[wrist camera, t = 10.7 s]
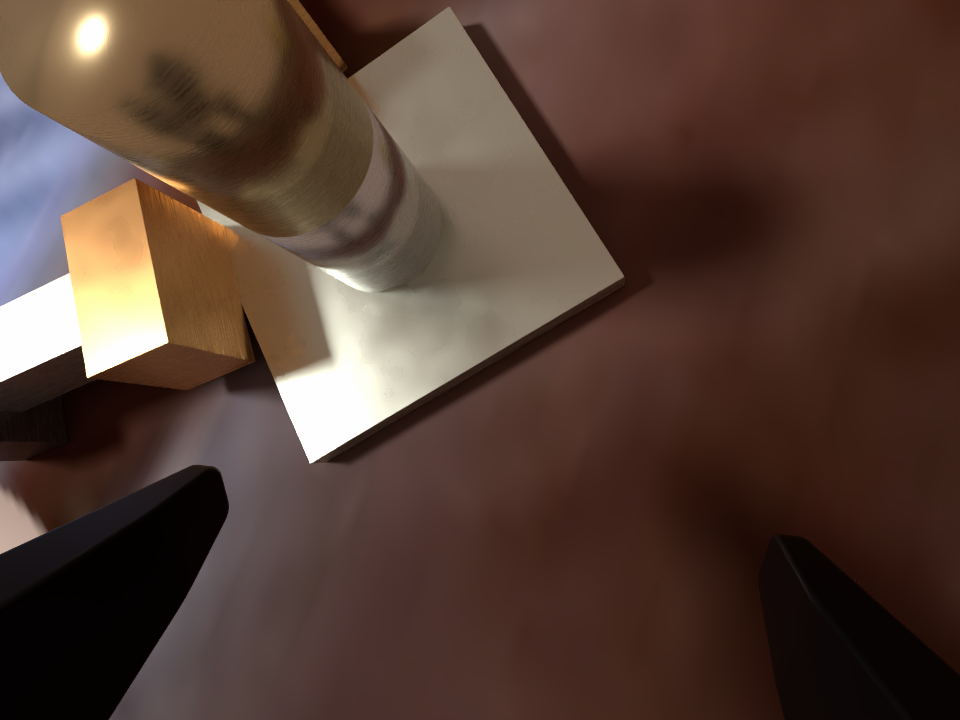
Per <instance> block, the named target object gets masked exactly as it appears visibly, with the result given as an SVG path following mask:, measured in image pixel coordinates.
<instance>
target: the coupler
mask: <svg viewBox="0 0 960 720" xmlns="http://www.w3.org/2000/svg"><path fill="white" fill-rule="evenodd" d="M0 72H1V74H2V76H3V79H4V80H5V82H6V83H7V85H8V86H9V88H10V89H11V91H12V92H13V93H14V94H15V95H16V96H17V97H18V98H19V99H20V100H21V101H23V102H24V103H25V104H27V105H28V106H30V107H31V108H33V109H35V110H37V111H38V112H40V113H42V114H44V115H46V116H47V117H49V118H51V119H53V120H54V121H56V122H58V123H60V124H62V125H63V126H65V127H67V128H69V129H71V130H72V131H74V132H76V133H78V134H80V135H81V136H83V137H85V138H87V139H88V140H90V141H92V142H94V143H96V144H97V145H99V146H101V147H103V148H105V149H106V150H108V151H110V152H112V153H113V154H115V155H117V156H119V157H121V158H122V159H124V160H126V161H128V162H130V163H131V164H133V165H135V166H137V167H138V168H140V169H142V170H144V171H146V172H147V173H149V174H151V175H153V176H155V177H156V178H158V179H160V180H162V181H164V182H165V183H167V184H169V185H171V186H172V187H174V188H176V189H178V190H180V191H181V192H183V193H185V194H187V195H189V196H190V197H192V198H194V199H196V200H197V201H199V202H201V203H203V204H205V205H206V206H208V207H210V208H212V209H214V210H215V211H217V212H219V213H221V214H223V215H224V216H226V217H228V218H230V219H231V220H233V221H235V222H237V223H239V224H240V225H242V226H244V227H246V228H248V229H249V230H251V231H253V232H255V233H256V234H258V235H260V236H262V237H264V238H265V239H267V240H269V241H271V242H273V243H274V244H276V245H278V246H280V247H282V248H283V249H285V250H287V251H289V252H290V253H292V254H294V255H296V256H298V257H299V258H301V259H303V260H305V261H307V262H308V263H310V264H312V265H314V266H315V267H317V268H319V269H321V270H323V271H324V272H326V273H328V274H330V275H332V276H333V277H335V278H337V279H339V280H341V281H342V282H344V283H346V284H348V285H350V286H352V287H354V288H356V289H359V290H362V291H367V292H385V291H390V290H393V289H396V288H399V287H401V286H403V285H405V284H407V283H409V282H410V281H412V280H413V279H414V278H416V277H417V276H418V275H419V274H420V273H421V272H422V271H423V270H424V269H425V268H426V267H427V266H428V264H429V263H430V261H431V260H432V258H433V256H434V254H435V252H436V250H437V248H438V245H439V242H440V239H441V234H442V213H441V208H440V204H439V201H438V199H437V197H436V195H435V193H434V192H433V190H432V189H431V187H430V186H429V185H428V183H427V182H426V181H425V180H424V178H423V177H422V176H421V174H420V173H419V172H418V170H417V169H416V168H415V166H414V165H413V164H412V163H411V161H410V160H409V159H408V157H407V156H406V155H405V153H404V152H403V151H402V149H401V148H400V147H399V146H398V144H397V143H396V142H395V140H394V139H393V138H392V136H391V135H390V134H389V133H388V131H387V130H386V129H385V127H384V126H383V125H382V123H381V122H380V121H379V119H378V118H377V117H376V116H375V114H374V113H373V112H372V110H371V109H370V108H369V106H368V105H367V104H366V102H365V101H364V100H363V99H362V97H361V96H360V95H359V93H358V92H357V91H356V89H355V88H354V87H353V85H352V84H351V83H350V82H349V80H348V79H347V78H346V76H345V75H344V74H343V72H342V71H341V70H340V68H339V67H338V66H337V65H336V63H335V62H334V61H333V59H332V58H331V57H330V55H329V54H328V53H327V51H326V50H325V49H324V48H323V46H322V45H321V44H320V42H319V41H318V40H317V38H316V37H315V36H314V34H313V33H312V32H311V31H310V29H309V28H308V27H307V25H306V24H305V23H304V21H303V20H302V19H301V17H300V16H299V15H298V14H297V12H296V11H295V10H294V8H293V7H292V6H291V4H290V3H289V2H288V0H0Z"/></svg>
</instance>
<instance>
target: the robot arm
mask: <svg viewBox="0 0 960 720" xmlns="http://www.w3.org/2000/svg"><path fill="white" fill-rule="evenodd" d="M228 510H229V503H228V498H227V494H226V491H225V487H224V483H223V479H222V475H221V472H220V471H219V470H218V468H216V467H212V466H204V465H192V466H189V467H187V468H185V469H183V470H181V471H179V472H177V473H174V474H172V475H170V476H168V477H166V478H164V479H161V480H159V481H157V482H155V483H153V484H151V485H149V486H146V487H144V488H142V489H140V490H138V491H136V492H133V493H131V494H129V495H127V496H125V497H123V498H121V499H118V500H116V501H114V502H112V503H110V504H108V505H105V506H103V507H101V508H99V509H97V510H95V511H93V512H90V513H88V514H86V515H84V516H82V517H80V518H77V519H75V520H73V521H71V522H69V523H67V524H65V525H62V526H60V527H58V528H56V529H54V530H52V531H49V532H47V533H45V534H43V535H41V536H39V537H36V538H34V539H32V540H30V541H28V542H26V543H24V544H21V545H19V546H17V547H15V548H13V549H11V550H9V551H6V552H4V553H2V554H0V720H109V718H110V717H111V715H112V714H113V712H114V711H115V709H116V707H117V706H118V704H119V703H120V701H121V700H122V698H123V696H124V695H125V693H126V692H127V690H128V688H129V687H130V685H131V684H132V682H133V681H134V679H135V677H136V676H137V674H138V673H139V671H140V670H141V668H142V666H143V665H144V663H145V662H146V660H147V658H148V657H149V655H150V654H151V652H152V651H153V649H154V647H155V646H156V644H157V643H158V641H159V640H160V638H161V636H162V635H163V633H164V632H165V630H166V628H167V627H168V625H169V624H170V622H171V621H172V619H173V617H174V616H175V614H176V613H177V611H178V609H179V608H180V606H181V604H182V603H183V601H184V599H185V598H186V596H187V594H188V592H189V590H190V589H191V587H192V585H193V583H194V581H195V579H196V577H197V575H198V573H199V571H200V569H201V567H202V565H203V563H204V561H205V559H206V557H207V555H208V553H209V551H210V549H211V547H212V545H213V543H214V542H215V540H216V538H217V536H218V534H219V532H220V530H221V528H222V526H223V524H224V522H225V520H226V517H227V514H228ZM759 591H760V597H761V603H762V608H763V614H764V620H765V626H766V631H767V637H768V643H769V648H770V654H771V660H772V666H773V671H774V677H775V682H776V687H777V692H778V695H779V699H780V703H781V707H782V711H783V714H784V717H785V720H960V675H959V674H958V673H957V672H956V671H955V670H954V669H952V668H951V667H950V666H949V665H948V664H947V663H946V662H945V661H943V660H942V659H941V658H940V657H939V656H938V655H937V654H936V653H934V652H933V651H932V650H931V649H930V648H929V647H928V646H927V645H925V644H924V643H923V642H922V641H921V640H920V639H919V638H917V637H916V636H915V635H914V634H913V633H912V632H911V631H910V630H908V629H907V628H906V627H905V626H904V625H903V624H902V623H901V622H899V621H898V620H897V619H896V618H895V617H894V616H893V615H892V614H890V613H889V612H888V611H887V610H886V609H885V608H884V607H882V606H881V605H880V604H879V603H878V602H877V601H876V600H875V599H873V598H872V597H871V596H870V595H869V594H868V593H867V592H866V591H864V590H863V589H862V588H861V587H860V586H859V585H858V584H857V583H855V582H854V581H853V580H852V579H851V578H850V577H849V576H848V575H846V574H845V573H844V572H843V571H842V570H841V569H840V568H838V567H837V566H836V565H835V564H834V563H833V562H832V561H831V560H829V559H828V558H827V557H826V556H825V555H824V554H823V553H822V552H820V551H819V550H818V549H817V548H816V547H815V546H814V545H813V544H811V543H810V542H809V541H808V540H806V539H805V538H803V537H799V536H791V535H783V534H776V535H774V536H773V537H772V538H771V540H770V542H769V545H768V548H767V551H766V554H765V557H764V561H763V564H762V567H761V570H760V573H759Z"/></svg>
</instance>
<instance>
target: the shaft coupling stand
mask: <svg viewBox="0 0 960 720" xmlns="http://www.w3.org/2000/svg"><path fill="white" fill-rule="evenodd" d="M288 2H289V3H290V4H291V6H292V7H293V8H294V10H295V11H296V12H297V14H298V15H299V16H300V17H301V19H302V20H303V21H304V23H305V24H306V25H307V27H308V28H309V29H310V31H311V32H312V33H313V34H314V36H315V37H316V38H317V40H318V41H319V42H320V44H321V45H322V46H323V48H324V49H325V50H326V51H327V53H328V54H329V55H330V57H331V58H332V59H333V61H334V62H335V63H336V65H337V66H338V67H339V68H340V70H341V71H342V72H344V71H345V70H346V69H347V68H348V67H347V65H346V64H345V63H344V61H343V60H342V59H341V57H340V56H339V54H338V53H337V52H336V50H335V49H334V48H333V46H332V45H331V44H330V42H329V41H328V40H327V38H326V37H325V36H324V34H323V33H322V32H321V30H320V29H319V27H318V26H317V25H316V23H315V22H314V21H313V19H312V18H311V17H310V15H309V14H308V13H307V11H306V10H305V9H304V7H303V6H302V5H301V3H300V2H299V0H288ZM348 80H349V82H350V83H351V84H352V85H353V87H354V88H355V89H356V91H357V92H358V93H359V95H360V96H361V97H362V99H363V100H364V101H365V102H366V104H367V105H368V106H369V108H370V109H371V110H372V112H373V113H374V114H375V116H376V117H377V118H378V119H379V121H380V122H381V123H382V125H383V126H384V127H385V129H386V130H387V131H388V133H389V134H390V135H391V136H392V138H393V139H394V140H395V142H396V143H397V144H398V146H399V147H400V148H401V149H402V151H403V152H404V153H405V155H406V156H407V157H408V159H409V160H410V161H411V163H412V164H413V165H414V166H415V168H416V169H417V170H418V172H419V173H420V174H421V176H422V177H423V178H424V180H425V181H426V182H427V183H428V185H429V186H430V187H431V189H432V190H433V192H434V193H435V195H436V197H437V199H438V201H439V204H440V208H441V213H442V234H441V239H440V242H439V245H438V248H437V250H436V252H435V254H434V256H433V258H432V260H431V261H430V263H429V264H428V266H427V267H426V268H425V269H424V270H423V271H422V272H421V273H420V274H419V275H418V276H417V277H416V278H414V279H413V280H412V281H410V282H409V283H407V284H405V285H403V286H401V287H399V288H396V289H393V290H390V291H385V292H367V291H362V290H359V289H356V288H354V287H352V286H350V285H348V284H346V283H344V282H342V281H341V280H339V279H337V278H335V277H333V276H332V275H330V274H328V273H326V272H324V271H323V270H321V269H319V268H317V267H315V266H314V265H312V264H310V263H308V262H307V261H305V260H303V259H301V258H299V257H298V256H296V255H294V254H292V253H290V252H289V251H287V250H285V249H283V248H282V247H280V246H278V245H276V244H274V243H273V242H271V241H269V240H267V239H265V238H264V237H262V236H260V235H258V234H256V233H255V232H253V231H251V230H249V229H248V228H246V227H244V226H242V225H240V224H239V223H237V222H235V221H233V220H231V219H230V218H228V217H226V216H224V215H223V214H221V213H219V212H217V211H215V210H214V209H212V208H210V207H208V206H206V205H205V204H203V203H201V202H199V201H197V202H198V204H199V206H200V209H201V211H202V213H203V215H202V214H200V213H198V212H197V211H195V210H193V209H191V208H189V207H187V206H185V205H184V204H182V203H180V202H178V201H176V200H174V199H173V198H171V197H169V196H167V195H165V194H163V193H161V192H160V191H158V190H156V189H154V188H152V187H150V186H148V185H147V184H145V183H143V182H141V181H139V180H137V179H136V178H134V179H132V180H130V181H128V182H127V183H125V184H123V185H121V186H119V187H117V188H115V189H113V190H111V191H109V192H107V193H105V194H103V195H101V196H99V197H97V198H95V199H93V200H92V201H90V202H88V203H86V204H84V205H82V206H80V207H78V208H76V209H74V210H72V211H70V212H68V213H66V214H64V215H62V216H61V222H62V228H63V234H64V240H65V246H66V252H67V258H68V264H69V270H70V273H69V274H67V275H65V276H63V277H60V278H58V279H56V280H54V281H52V282H50V283H48V284H46V285H44V286H42V287H40V288H38V289H36V290H34V291H32V292H30V293H28V294H26V295H24V296H21V297H19V298H17V299H15V300H13V301H11V302H9V303H7V304H5V305H3V306H1V307H0V461H22V460H26V459H28V458H31V457H33V456H36V455H38V454H40V453H43V452H45V451H48V450H50V449H53V448H55V447H57V446H60V445H62V444H65V443H67V442H68V436H67V430H66V423H65V417H64V410H63V404H62V397H61V395H62V394H64V393H67V392H69V391H71V390H73V389H76V388H78V387H80V386H83V385H85V384H87V383H90V382H92V381H94V380H96V379H100V380H108V381H116V382H125V383H133V384H141V385H149V386H157V387H165V388H173V389H181V390H189V389H191V388H194V387H196V386H198V385H201V384H203V383H206V382H208V381H210V380H213V379H215V378H218V377H220V376H222V375H225V374H227V373H230V372H232V371H234V370H237V369H239V368H242V367H244V366H246V365H249V364H251V363H254V362H255V358H254V354H253V350H252V346H251V341H250V337H249V333H248V329H247V324H246V320H245V316H244V312H243V308H244V311H245V313H246V315H247V318H248V320H249V322H250V325H251V327H252V329H253V331H254V334H255V336H256V338H257V341H258V343H259V345H260V348H261V350H262V352H263V355H264V357H265V359H266V362H267V364H268V366H269V369H270V371H271V373H272V375H273V378H274V380H275V382H276V385H277V387H278V389H279V392H280V394H281V396H282V399H283V401H284V403H285V406H286V408H287V410H288V412H289V415H290V417H291V419H292V422H293V424H294V426H295V429H296V431H297V433H298V436H299V438H300V440H301V443H302V445H303V447H304V450H305V452H306V454H307V456H308V459H309V461H310V463H324V462H327V461H329V460H331V459H332V458H334V457H336V456H337V455H339V454H341V453H342V452H344V451H346V450H347V449H349V448H351V447H353V446H354V445H356V444H358V443H359V442H361V441H363V440H364V439H366V438H368V437H369V436H371V435H373V434H374V433H376V432H378V431H380V430H381V429H383V428H385V427H386V426H388V425H390V424H391V423H393V422H395V421H396V420H398V419H400V418H401V417H403V416H405V415H407V414H408V413H410V412H412V411H413V410H415V409H417V408H418V407H420V406H422V405H423V404H425V403H427V402H429V401H430V400H432V399H434V398H435V397H437V396H439V395H440V394H442V393H444V392H445V391H447V390H449V389H450V388H452V387H454V386H456V385H457V384H459V383H461V382H462V381H464V380H466V379H467V378H469V377H471V376H472V375H474V374H476V373H478V372H479V371H481V370H483V369H484V368H486V367H488V366H489V365H491V364H493V363H494V362H496V361H498V360H499V359H501V358H503V357H505V356H506V355H508V354H510V353H511V352H513V351H515V350H516V349H518V348H520V347H521V346H523V345H525V344H527V343H528V342H530V341H532V340H533V339H535V338H537V337H538V336H540V335H542V334H543V333H545V332H547V331H548V330H550V329H552V328H554V327H555V326H557V325H559V324H560V323H562V322H564V321H565V320H567V319H569V318H570V317H572V316H574V315H576V314H577V313H579V312H581V311H582V310H584V309H586V308H587V307H589V306H591V305H592V304H594V303H596V302H597V301H599V300H601V299H603V298H604V297H606V296H608V295H609V294H611V293H613V292H614V291H616V290H618V289H619V288H621V287H623V286H625V278H624V275H623V274H622V272H621V270H620V269H619V267H618V266H617V264H616V263H615V261H614V260H613V258H612V257H611V255H610V253H609V252H608V250H607V249H606V247H605V246H604V244H603V243H602V241H601V240H600V238H599V237H598V235H597V233H596V232H595V230H594V229H593V227H592V226H591V224H590V223H589V221H588V220H587V218H586V216H585V215H584V213H583V212H582V210H581V209H580V207H579V206H578V204H577V203H576V201H575V200H574V198H573V196H572V195H571V193H570V192H569V190H568V189H567V187H566V186H565V184H564V183H563V181H562V179H561V178H560V176H559V175H558V173H557V172H556V170H555V169H554V167H553V166H552V164H551V163H550V161H549V159H548V158H547V156H546V155H545V153H544V152H543V150H542V149H541V147H540V146H539V144H538V142H537V141H536V139H535V138H534V136H533V135H532V133H531V132H530V130H529V129H528V127H527V126H526V124H525V122H524V121H523V119H522V118H521V116H520V115H519V113H518V112H517V110H516V109H515V107H514V105H513V104H512V102H511V101H510V99H509V98H508V96H507V95H506V93H505V92H504V90H503V88H502V87H501V85H500V84H499V82H498V81H497V79H496V78H495V76H494V75H493V73H492V72H491V70H490V68H489V67H488V65H487V64H486V62H485V61H484V59H483V58H482V56H481V55H480V53H479V51H478V50H477V48H476V47H475V45H474V44H473V42H472V41H471V39H470V38H469V36H468V35H467V33H466V31H465V30H464V28H463V27H462V25H461V24H460V22H459V21H458V19H457V18H456V16H455V14H454V13H453V11H452V10H451V8H450V7H448V8H447V9H445V10H444V11H442V12H441V13H439V14H438V15H437V16H435V17H434V18H432V19H431V20H430V21H428V22H427V23H425V24H424V25H423V26H421V27H420V28H418V29H417V30H416V31H414V32H413V33H411V34H410V35H409V36H407V37H406V38H404V39H403V40H402V41H400V42H399V43H397V44H396V45H394V46H393V47H392V48H390V49H389V50H387V51H386V52H385V53H383V54H382V55H380V56H379V57H378V58H376V59H375V60H373V61H372V62H371V63H369V64H368V65H366V66H365V67H364V68H362V69H361V70H359V71H358V72H357V73H355V74H354V75H352V76H351V77H349V78H348ZM242 306H243V308H242Z"/></svg>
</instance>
